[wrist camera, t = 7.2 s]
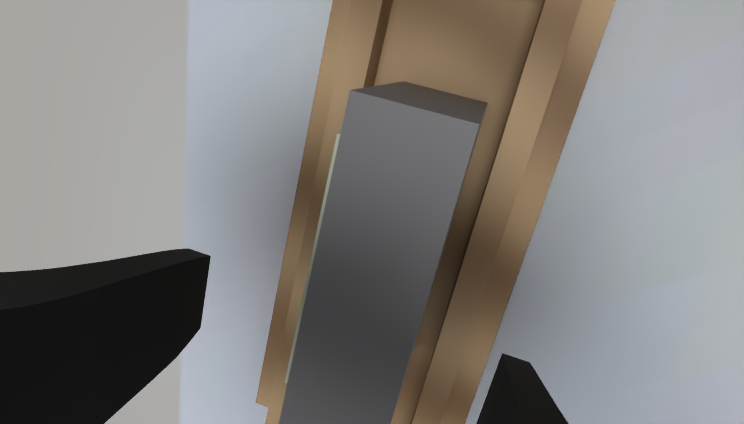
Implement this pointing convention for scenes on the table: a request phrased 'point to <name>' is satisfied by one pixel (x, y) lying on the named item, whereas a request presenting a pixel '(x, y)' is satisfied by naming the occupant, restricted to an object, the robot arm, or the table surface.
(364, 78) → the wooden tray
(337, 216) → the grey rectangular prism
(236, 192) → the table surface
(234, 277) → the table surface
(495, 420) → the robot arm
